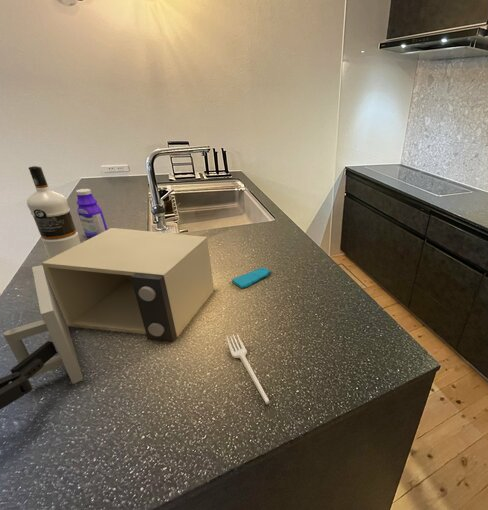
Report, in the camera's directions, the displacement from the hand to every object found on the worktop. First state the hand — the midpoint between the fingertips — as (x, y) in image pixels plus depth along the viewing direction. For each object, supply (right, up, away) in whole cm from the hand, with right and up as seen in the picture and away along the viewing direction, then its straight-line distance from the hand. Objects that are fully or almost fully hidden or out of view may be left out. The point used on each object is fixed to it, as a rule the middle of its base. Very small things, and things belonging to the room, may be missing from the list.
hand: (19, 343), depth 54 cm
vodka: (-27, +13, +41) cm, 50 cm away
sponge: (+30, +8, +41) cm, 52 cm away
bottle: (-34, +23, +60) cm, 72 cm away
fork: (+38, -9, +10) cm, 40 cm away
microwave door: (-2, -6, +8) cm, 10 cm away
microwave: (+7, +2, +25) cm, 26 cm away
